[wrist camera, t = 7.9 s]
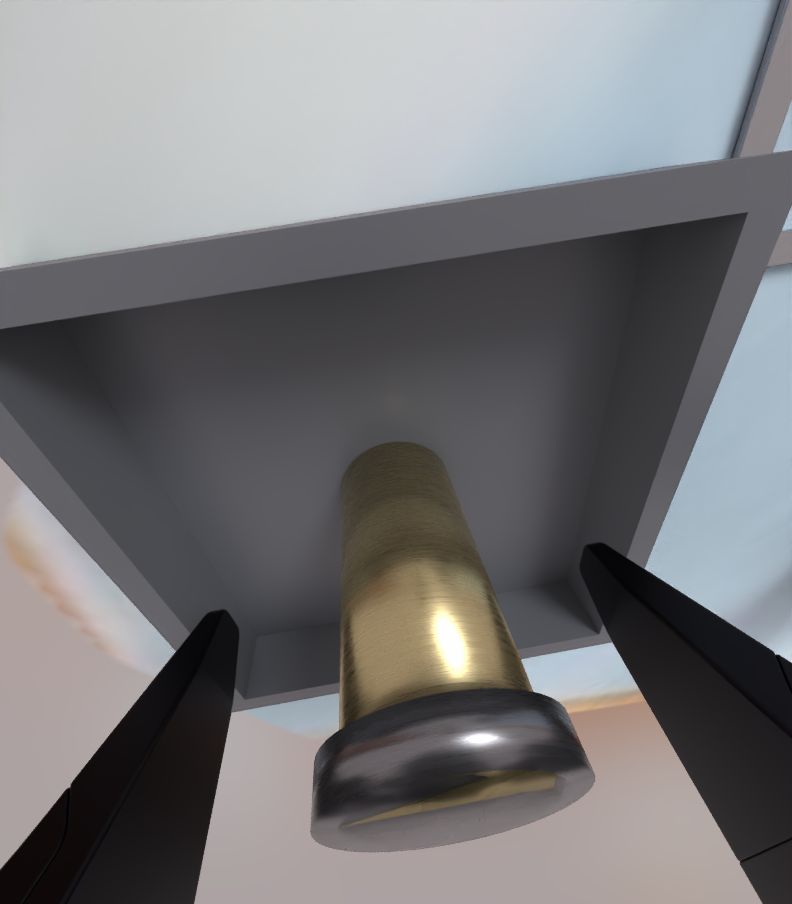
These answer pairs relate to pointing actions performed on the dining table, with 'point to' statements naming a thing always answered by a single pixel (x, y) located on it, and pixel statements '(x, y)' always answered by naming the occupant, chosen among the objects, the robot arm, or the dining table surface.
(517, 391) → the tray
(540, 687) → the dining table surface
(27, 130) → the dining table surface
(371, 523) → the gold cylinder with rim
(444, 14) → the dining table surface
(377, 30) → the dining table surface
